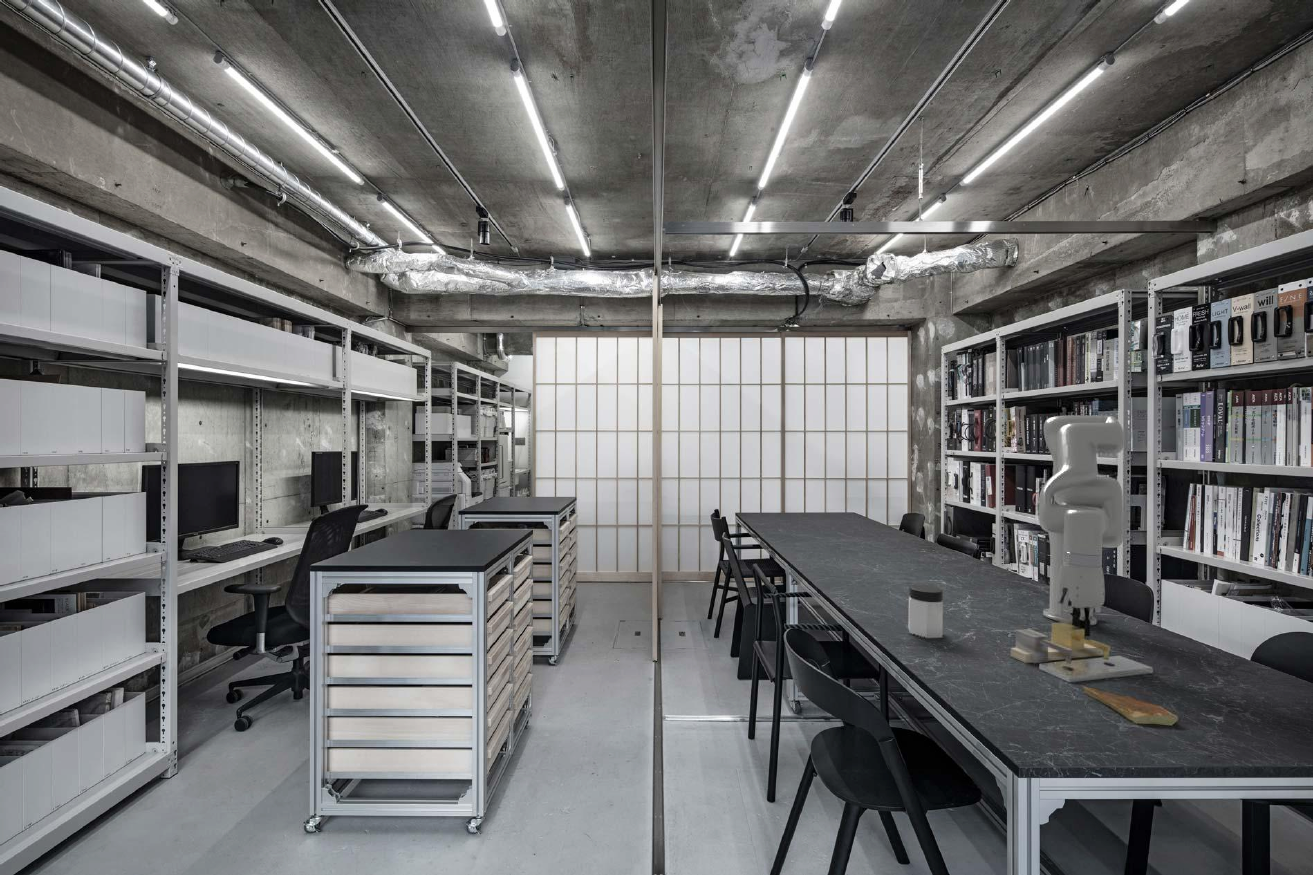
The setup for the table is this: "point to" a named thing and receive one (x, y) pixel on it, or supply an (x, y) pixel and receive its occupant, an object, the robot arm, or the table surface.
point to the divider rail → (1046, 649)
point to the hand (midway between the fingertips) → (1081, 634)
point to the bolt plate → (1095, 668)
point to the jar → (925, 611)
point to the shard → (1133, 707)
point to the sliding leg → (1074, 638)
